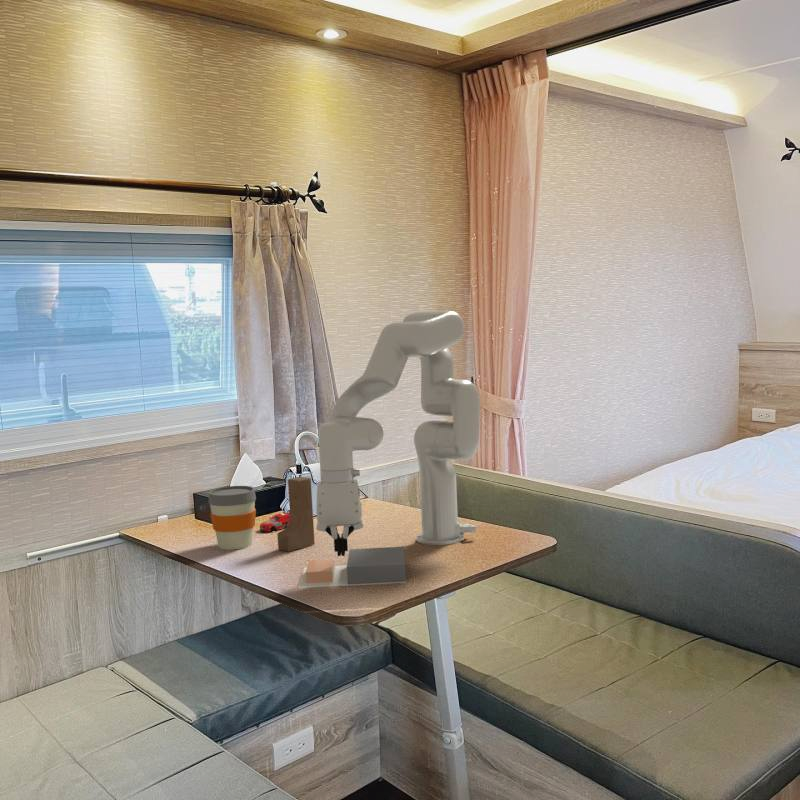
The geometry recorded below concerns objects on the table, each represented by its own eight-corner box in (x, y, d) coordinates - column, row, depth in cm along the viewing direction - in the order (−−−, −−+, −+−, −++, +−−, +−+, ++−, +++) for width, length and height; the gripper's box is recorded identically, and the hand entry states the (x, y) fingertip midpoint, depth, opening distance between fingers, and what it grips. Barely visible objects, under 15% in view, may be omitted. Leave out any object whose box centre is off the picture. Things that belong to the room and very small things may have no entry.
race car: (267, 534, 231) (266, 521, 231) (256, 532, 235) (255, 518, 235) (304, 524, 240) (303, 511, 240) (293, 522, 244) (292, 508, 244)
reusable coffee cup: (261, 548, 217) (258, 492, 215) (213, 554, 213) (209, 497, 212) (256, 536, 229) (252, 483, 227) (210, 542, 225) (206, 488, 224)
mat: (404, 563, 197) (404, 562, 197) (406, 584, 182) (406, 582, 182) (304, 568, 197) (304, 567, 197) (298, 589, 182) (298, 587, 182)
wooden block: (288, 552, 211) (284, 483, 210) (277, 549, 215) (273, 482, 213) (315, 544, 218) (311, 477, 216) (304, 541, 221) (300, 476, 219)
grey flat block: (404, 562, 197) (403, 546, 196) (406, 581, 183) (405, 564, 182) (350, 565, 197) (349, 549, 196) (347, 584, 183) (346, 567, 182)
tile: (309, 560, 194) (309, 570, 194) (305, 572, 185) (306, 583, 185) (334, 559, 194) (335, 569, 194) (332, 571, 185) (332, 581, 185)
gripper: (370, 471, 191) (373, 548, 193) (305, 474, 191) (310, 551, 193) (369, 477, 184) (373, 557, 185) (302, 480, 183) (307, 560, 185)
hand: (341, 554), depth 189 cm, fingers closed
